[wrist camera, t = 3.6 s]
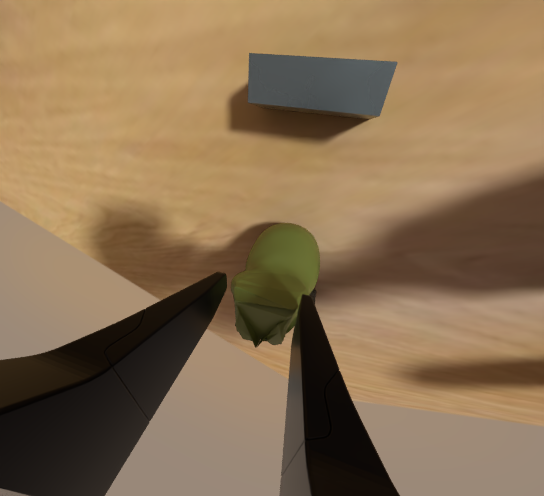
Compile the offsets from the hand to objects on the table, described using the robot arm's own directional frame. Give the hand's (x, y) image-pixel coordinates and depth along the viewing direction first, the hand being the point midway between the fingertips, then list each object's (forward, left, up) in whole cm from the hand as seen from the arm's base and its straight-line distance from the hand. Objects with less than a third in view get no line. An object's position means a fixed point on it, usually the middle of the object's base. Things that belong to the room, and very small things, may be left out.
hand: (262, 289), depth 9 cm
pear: (0, +2, -9) cm, 10 cm away
